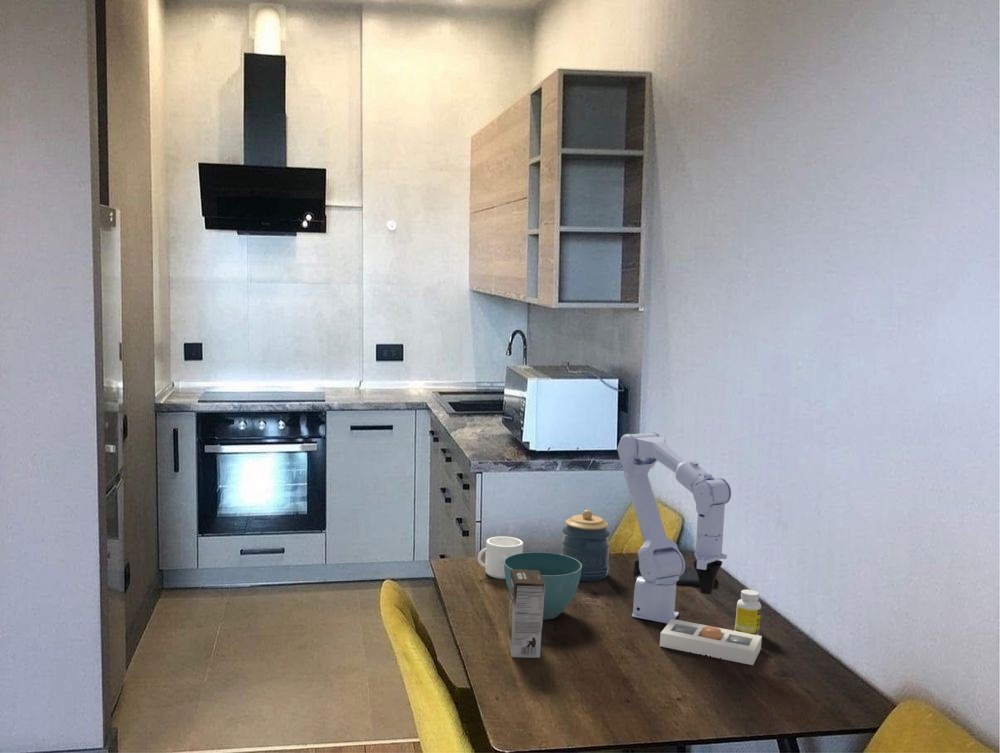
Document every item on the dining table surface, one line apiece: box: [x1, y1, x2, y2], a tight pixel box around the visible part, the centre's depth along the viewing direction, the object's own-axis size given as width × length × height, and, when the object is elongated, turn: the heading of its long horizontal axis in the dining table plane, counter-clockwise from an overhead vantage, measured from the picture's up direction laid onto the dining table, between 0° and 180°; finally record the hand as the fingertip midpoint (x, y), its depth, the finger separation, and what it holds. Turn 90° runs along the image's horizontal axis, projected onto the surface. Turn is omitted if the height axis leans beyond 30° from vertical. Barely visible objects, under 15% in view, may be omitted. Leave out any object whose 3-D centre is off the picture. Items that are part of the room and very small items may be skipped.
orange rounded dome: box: [702, 625, 721, 640], centre depth 210 cm, size 4×4×3 cm
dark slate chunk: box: [632, 559, 700, 586], centre depth 259 cm, size 15×22×5 cm
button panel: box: [659, 618, 763, 666], centre depth 210 cm, size 20×10×3 cm, turn 66°
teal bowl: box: [504, 551, 582, 621], centre depth 225 cm, size 18×18×12 cm
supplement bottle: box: [734, 589, 762, 636], centre depth 219 cm, size 5×5×10 cm
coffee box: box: [507, 569, 545, 659], centre depth 203 cm, size 9×6×16 cm
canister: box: [560, 509, 612, 582], centre depth 256 cm, size 13×13×18 cm
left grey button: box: [675, 626, 693, 635], centre depth 212 cm, size 4×4×3 cm
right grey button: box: [729, 636, 749, 646], centre depth 207 cm, size 4×4×3 cm
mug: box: [477, 536, 524, 580], centre depth 253 cm, size 12×10×9 cm
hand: (706, 593), depth 214 cm, fingers closed
